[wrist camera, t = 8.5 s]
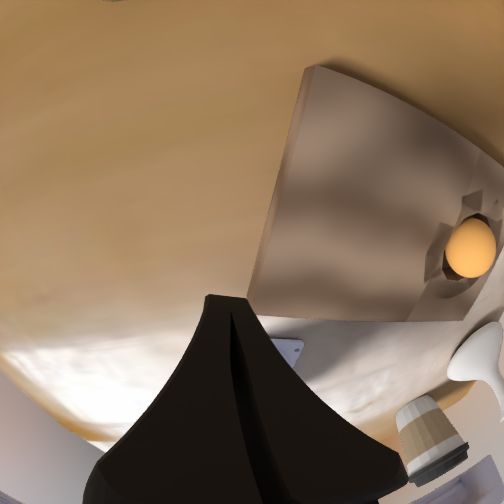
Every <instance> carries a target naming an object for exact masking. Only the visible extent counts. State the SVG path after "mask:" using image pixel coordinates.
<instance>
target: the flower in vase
mask: <svg viewBox="0 0 504 504" xmlns="http://www.w3.org/2000/svg"><path fill="white" fill-rule="evenodd" d="M502 340H503V328H502V325H501V323H500V322H490V323H488V324H486V325H484V326H483V327H481V328H480V329H478V330H477V331H476V332H474V333H473V334H472V335H471V336H470V337H469V338H468V339H467V340H466V341H465V342H464V343H463V344H462V345H461V346H460V348H459V349H458V350H457V352H456V353H455V355H454V356H453V358H452V359H451V361H450V363H449V365H448V368H447V377H448V378H450V379H451V380H455V381H469V380H483V381H485V382H487V383H488V384H489V385H490V386H491V388H492V389H493V391H494V393H495V394H496V397H497V399H498V401H499V404H500V408H501V419H500V422H502V421H503V420H504V378H503V376H502V375H501V373H500V371H499V366H498V361H499V356H500V351H501V346H502Z"/></svg>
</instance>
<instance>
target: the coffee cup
mask: <svg viewBox="0 0 504 504" xmlns="http://www.w3.org/2000/svg"><path fill="white" fill-rule="evenodd" d="M395 417H396V424H397V428H398V431H399V435H400V438H401V443H402V447H403V451H404V454H405V459H406V463H407V467H408V472H409V477H408V478H409V483H413V482H414V483H415V484H416V486H417V487H420V486H422V485H424V484H426V483H428V482H430V481H432V480H434V479H436V478H438V477H439V476H441V475H443V474H445V473H446V472H448V471H449V470H451V469H453V468H454V467H456V466H457V465H459V464H460V463H462V462H463V461H465V460H466V459H467V458H468V455H467V450H468V449H469V445H468V442H466V443H465V442H464V441H463V439H462V438H461V436H460V435H459V434H458V432H457V431H456V430H455V428H454V427H453V425H452V424H451V423H450V421H449V420H448V418H447V417H446V416H445V414H444V413H443V412H442V410H441V409H440V408H439V406H438V405H437V404H436V402H435V401H434V400H433V398H431V397H430V396H429V395H423V396H420V397H418V398H416V399H414V400H412V401H411V402H409V403H407V404H406V405H405V406H403V407H402V408H401V409H400V410H399V411H398V412H397V413H396V416H395Z"/></svg>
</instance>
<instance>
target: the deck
mask: <svg viewBox="0 0 504 504" xmlns="http://www.w3.org/2000/svg"><path fill="white" fill-rule="evenodd" d="M474 214H475V215H476V218H477V219H479V220H481V221H483V222H484V223H485V224H486V225H488V227H489V228H490V229H491V231H492V233H493V235H494V237H495V241H496V255H495V259H494V261H493V263H492V265H491V267H490V268H489V269H488V270H487V271H486V272H485V273H484V274H482V275H481V276H478V277H474V278H467V277H463V276H461V275H459V274H457V273H456V272H455V271H454V270H453V269H452V268H451V267H450V268H448V269H442V263H443V253H444V250H445V248H446V246H447V244H448V242H449V239H450V237H451V235H452V233H453V232H454V230H455V229H456V228H457V227H458V226H459V225H460V224H461V222H462V221H463V220H464V219H465V218H467V217H469V216H471V215H474ZM503 246H504V167H502V166H501V165H500V164H499V163H498V162H496V161H495V160H494V159H493V158H491V157H490V156H489V155H487V154H486V153H485V152H484V151H482V150H481V149H480V148H478V147H477V146H475V145H474V144H473V143H471V142H470V141H468V140H467V139H466V138H464V137H463V136H461V135H460V134H458V133H457V132H455V131H454V130H452V129H451V128H449V127H448V126H446V125H444V124H443V123H441V122H440V121H438V120H436V119H435V118H433V117H431V116H429V115H428V114H426V113H424V112H422V111H421V110H419V109H417V108H415V107H413V106H412V105H410V104H408V103H406V102H404V101H402V100H400V99H398V98H396V97H394V96H392V95H390V94H388V93H386V92H384V91H382V90H379V89H377V88H375V87H373V86H371V85H368V84H366V83H364V82H361V81H359V80H356V79H354V78H352V77H349V76H346V75H344V74H341V73H339V72H336V71H333V70H330V69H328V68H325V67H322V66H319V65H313V66H311V67H308V68H305V70H304V74H303V78H302V82H301V86H300V90H299V94H298V98H297V102H296V106H295V110H294V114H293V118H292V122H291V126H290V130H289V134H288V138H287V142H286V146H285V150H284V154H283V158H282V162H281V166H280V170H279V174H278V178H277V181H276V185H275V189H274V193H273V197H272V201H271V205H270V209H269V213H268V217H267V220H266V224H265V228H264V232H263V236H262V240H261V244H260V247H259V251H258V255H257V259H256V263H255V267H254V270H253V274H252V278H251V282H250V286H249V290H248V293H247V300H248V302H249V304H250V305H251V307H252V309H253V311H254V313H255V315H264V316H276V317H290V318H305V319H323V320H345V321H384V322H424V321H461V320H463V319H464V318H465V316H466V315H467V313H468V312H469V310H470V308H471V307H472V305H473V303H474V302H475V300H476V298H477V297H478V295H479V293H480V291H481V290H482V288H483V286H484V284H485V282H486V281H487V279H488V277H489V275H490V273H491V271H492V269H493V267H494V265H495V263H496V261H497V259H498V257H499V255H500V253H501V251H502V248H503Z"/></svg>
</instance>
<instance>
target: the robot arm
mask: <svg viewBox="0 0 504 504" xmlns="http://www.w3.org/2000/svg"><path fill="white" fill-rule="evenodd" d="M303 347H304V343H303V341H302V340H290V339H270V337H269V336H268V334H267V333H266V331H265V330H264V328H263V326H262V325H261V323H260V321H259V320H258V318H257V316H256V315H255V313H254V311H253V309H252V307H251V305H250V304H249V302H248V300H247V299H246V298H239V297H230V296H221V295H213V294H209V295H207V296H205V302H204V308H203V313H202V315H201V318H200V321H199V324H198V326H197V328H196V331H195V333H194V335H193V337H192V340H191V342H190V343H189V345H188V347H187V349H186V351H185V353H184V355H183V357H182V359H181V360H180V362H179V364H178V365H177V367H176V369H175V370H174V372H173V373H172V375H171V376H170V378H169V380H168V381H167V383H166V384H165V385H164V387H163V388H162V390H161V391H160V392H159V394H158V395H157V397H156V398H155V399H154V401H153V402H152V403H151V404H150V406H149V407H148V408H147V410H146V411H145V412H144V413H143V414H142V415H141V417H140V418H139V419H138V420H137V421H136V422H135V423H134V425H133V426H132V427H131V428H130V429H129V430H128V431H127V433H126V434H125V435H124V436H123V437H122V438H121V439H120V440H119V441H118V442H117V443H116V444H115V445H114V446H113V447H112V448H111V449H109V450H108V451H107V452H106V453H105V454H104V455H103V456H102V457H101V458H100V459H99V460H98V461H97V463H96V465H95V466H94V468H93V470H92V472H91V474H90V476H89V479H88V481H87V483H86V487H85V491H84V494H83V504H379V502H378V499H379V498H381V497H384V496H385V495H388V494H390V493H392V492H394V491H396V490H398V489H399V488H401V487H403V486H404V485H406V484H407V482H408V481H409V478H408V475H407V472H406V470H405V467H404V465H403V462H402V460H401V458H400V455H399V453H398V452H396V451H394V450H392V449H390V448H388V447H387V446H385V445H383V444H381V443H379V442H378V441H376V440H374V439H372V438H371V437H369V436H368V435H366V434H364V433H363V432H362V431H360V430H359V429H357V428H356V427H354V426H353V425H352V424H350V423H349V422H347V421H346V420H345V419H344V418H342V417H341V416H340V415H339V414H337V413H336V412H335V411H334V410H333V409H332V408H330V407H329V406H328V405H327V404H326V403H325V402H323V401H322V400H321V399H320V398H319V397H318V396H317V395H316V394H315V393H314V392H313V391H312V390H311V389H310V388H309V387H308V386H307V385H306V384H305V383H304V382H303V381H302V379H301V378H300V377H299V376H298V375H297V374H296V372H295V371H294V370H293V367H294V365H295V363H296V361H297V359H298V357H299V355H300V353H301V351H302V349H303ZM503 500H504V484H503V481H502V479H501V477H500V474H499V472H498V470H497V468H496V465H495V463H494V461H493V459H492V457H491V455H488V456H486V457H485V458H484V459H482V460H481V461H480V462H478V463H477V464H475V465H474V466H472V467H471V468H469V469H468V470H467V471H465V472H464V473H462V474H460V475H458V476H457V477H455V478H454V479H452V480H450V481H449V482H447V483H445V484H443V485H442V486H440V487H438V488H436V489H435V490H434V491H432V492H431V493H429V494H427V495H425V496H423V497H421V498H419V499H417V500H415V501H413V502H411V503H409V504H501V503H502V502H503ZM0 504H24V503H22V502H20V501H18V500H16V499H14V498H12V497H10V496H9V495H7V494H5V493H3V492H1V491H0Z"/></svg>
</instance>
